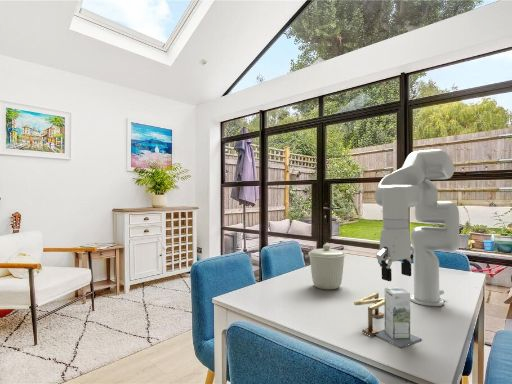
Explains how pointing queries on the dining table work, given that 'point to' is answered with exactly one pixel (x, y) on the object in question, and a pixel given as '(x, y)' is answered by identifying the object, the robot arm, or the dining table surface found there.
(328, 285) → the canister
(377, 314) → the accordion peg rack
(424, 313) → the dining table surface
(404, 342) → the slate mat
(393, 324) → the syrup box
